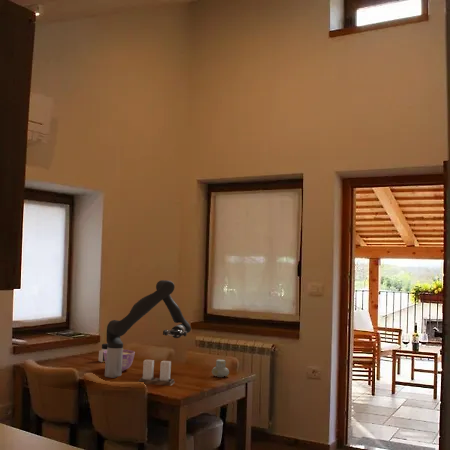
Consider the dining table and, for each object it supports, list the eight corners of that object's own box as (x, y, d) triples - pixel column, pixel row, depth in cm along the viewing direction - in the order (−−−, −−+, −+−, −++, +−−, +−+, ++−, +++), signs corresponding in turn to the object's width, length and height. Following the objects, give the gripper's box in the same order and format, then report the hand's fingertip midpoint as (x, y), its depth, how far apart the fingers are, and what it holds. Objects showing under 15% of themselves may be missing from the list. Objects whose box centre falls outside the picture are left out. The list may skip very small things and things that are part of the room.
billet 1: (142, 382, 314) (143, 360, 315) (144, 380, 319) (145, 359, 320) (150, 382, 313) (152, 361, 314) (153, 381, 318) (154, 360, 319)
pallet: (136, 384, 311) (136, 380, 311) (141, 380, 322) (141, 376, 322) (171, 387, 309) (171, 382, 309) (175, 383, 320) (175, 378, 320)
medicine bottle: (102, 362, 372) (103, 344, 373) (98, 361, 378) (99, 343, 379) (112, 362, 376) (113, 344, 377) (108, 360, 382) (109, 342, 383)
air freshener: (209, 375, 347) (210, 359, 348) (220, 374, 352) (220, 358, 353) (220, 378, 339) (220, 362, 339) (230, 377, 344) (231, 361, 344)
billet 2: (159, 383, 313) (160, 362, 314) (161, 381, 318) (162, 360, 319) (168, 384, 312) (169, 362, 313) (170, 382, 317) (171, 361, 318)
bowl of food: (127, 374, 338) (128, 355, 339) (96, 371, 342) (97, 352, 343) (138, 368, 357) (139, 350, 358) (109, 366, 361) (110, 348, 362)
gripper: (167, 324, 349) (161, 327, 333) (189, 326, 348) (184, 328, 332) (166, 336, 349) (160, 339, 333) (188, 338, 347) (184, 341, 331)
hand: (172, 334), depth 332 cm, fingers open, 8 cm apart
